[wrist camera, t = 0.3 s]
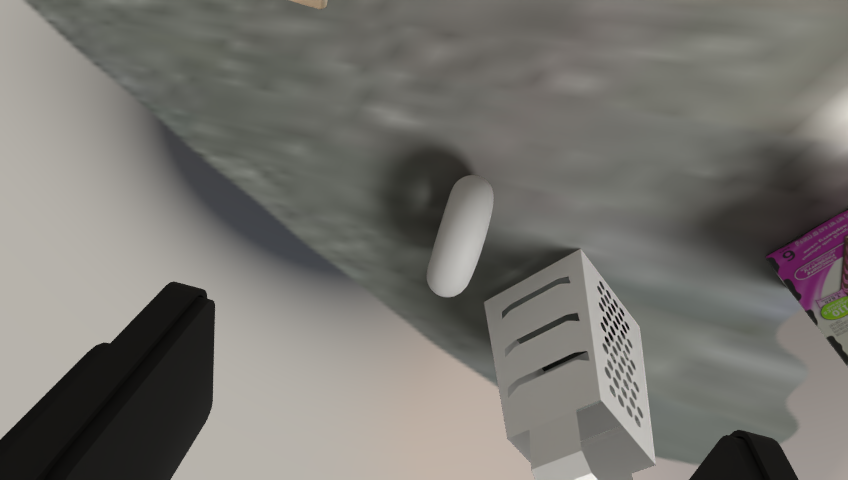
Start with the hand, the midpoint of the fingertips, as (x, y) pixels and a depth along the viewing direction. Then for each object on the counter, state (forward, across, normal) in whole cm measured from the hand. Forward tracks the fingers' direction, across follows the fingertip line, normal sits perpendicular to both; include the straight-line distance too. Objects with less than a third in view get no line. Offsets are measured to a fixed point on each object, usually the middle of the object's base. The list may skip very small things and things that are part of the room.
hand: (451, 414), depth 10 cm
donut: (+36, -1, +13) cm, 38 cm away
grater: (+36, -13, +22) cm, 44 cm away
